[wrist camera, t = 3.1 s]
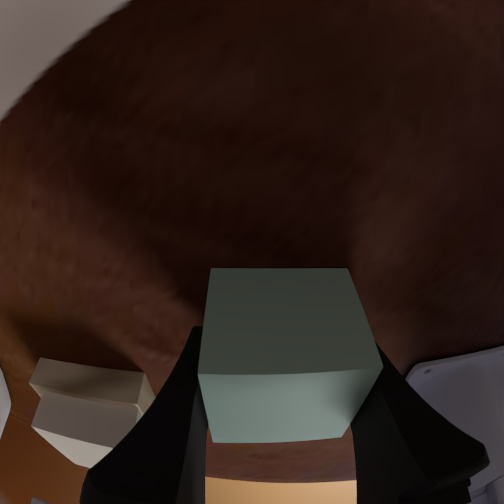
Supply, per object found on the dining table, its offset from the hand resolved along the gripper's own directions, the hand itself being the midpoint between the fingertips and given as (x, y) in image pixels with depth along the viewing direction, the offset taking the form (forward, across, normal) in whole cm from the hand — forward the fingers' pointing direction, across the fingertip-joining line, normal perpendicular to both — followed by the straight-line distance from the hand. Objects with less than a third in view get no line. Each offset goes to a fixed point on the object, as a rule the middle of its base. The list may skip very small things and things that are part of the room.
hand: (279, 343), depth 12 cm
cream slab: (0, +10, +8) cm, 13 cm away
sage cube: (+1, 0, 0) cm, 1 cm away
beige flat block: (+2, +10, +8) cm, 13 cm away
